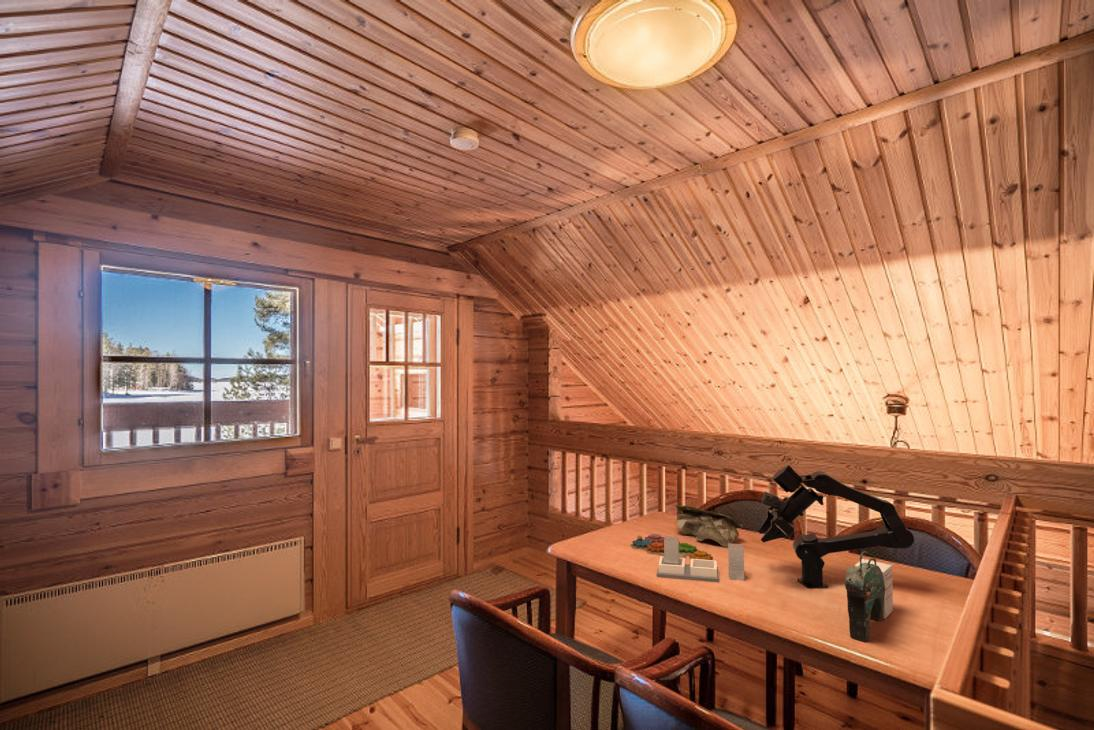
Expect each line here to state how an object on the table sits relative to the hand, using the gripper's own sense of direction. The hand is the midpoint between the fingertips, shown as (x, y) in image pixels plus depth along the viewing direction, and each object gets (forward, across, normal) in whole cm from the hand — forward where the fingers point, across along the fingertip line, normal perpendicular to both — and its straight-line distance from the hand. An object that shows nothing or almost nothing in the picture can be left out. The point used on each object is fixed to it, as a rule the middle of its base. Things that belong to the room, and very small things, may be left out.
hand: (760, 536), depth 169 cm
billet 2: (+15, 0, +4) cm, 15 cm away
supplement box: (-10, +16, +29) cm, 34 cm away
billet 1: (+28, 0, -11) cm, 30 cm away
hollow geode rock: (+22, -39, -2) cm, 44 cm away
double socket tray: (+25, 0, -6) cm, 26 cm away
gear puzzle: (+30, -20, -10) cm, 38 cm away
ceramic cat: (-6, +27, +25) cm, 38 cm away
